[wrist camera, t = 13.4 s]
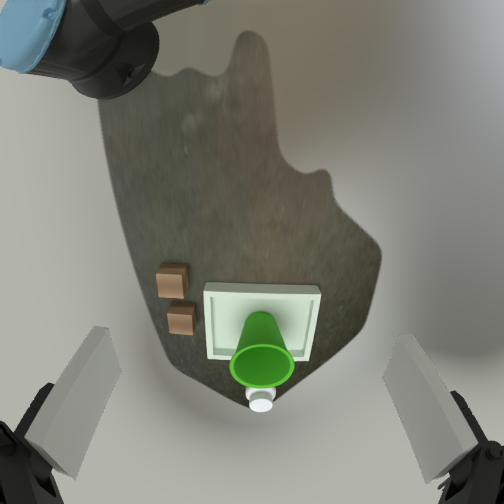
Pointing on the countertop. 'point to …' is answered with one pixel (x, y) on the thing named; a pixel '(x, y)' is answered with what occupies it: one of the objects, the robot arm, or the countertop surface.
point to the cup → (261, 354)
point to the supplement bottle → (260, 398)
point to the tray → (253, 300)
